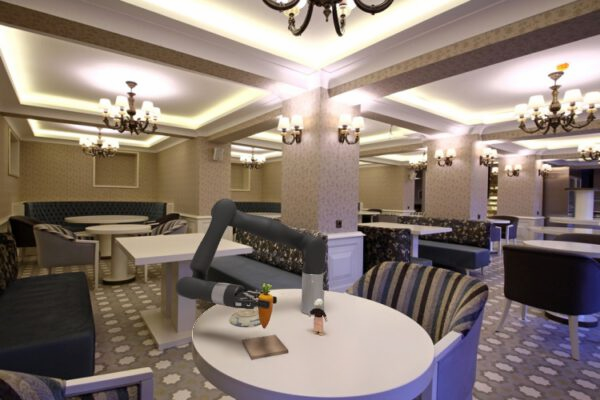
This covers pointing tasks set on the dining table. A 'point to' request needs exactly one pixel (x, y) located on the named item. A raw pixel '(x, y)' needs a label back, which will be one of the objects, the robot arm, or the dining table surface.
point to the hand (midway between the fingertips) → (272, 302)
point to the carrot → (263, 312)
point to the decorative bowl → (245, 318)
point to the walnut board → (264, 346)
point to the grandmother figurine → (318, 317)
